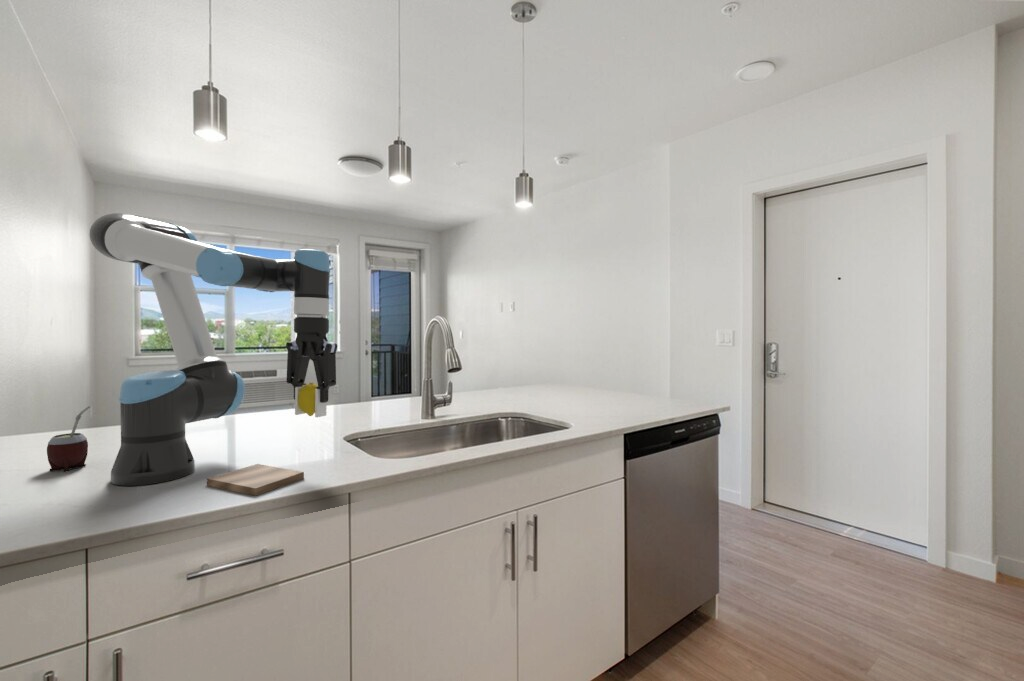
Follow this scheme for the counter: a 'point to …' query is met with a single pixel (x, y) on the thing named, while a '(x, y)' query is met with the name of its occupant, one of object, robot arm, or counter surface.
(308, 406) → the lemon
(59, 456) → the mate gourd
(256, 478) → the walnut board
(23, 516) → the counter surface
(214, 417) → the robot arm
